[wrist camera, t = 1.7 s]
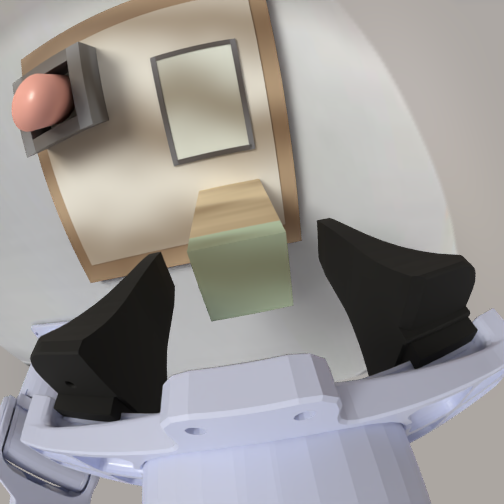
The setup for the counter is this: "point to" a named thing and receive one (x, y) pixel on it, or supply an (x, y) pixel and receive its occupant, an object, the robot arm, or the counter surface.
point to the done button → (42, 101)
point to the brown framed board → (161, 125)
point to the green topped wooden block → (239, 251)
